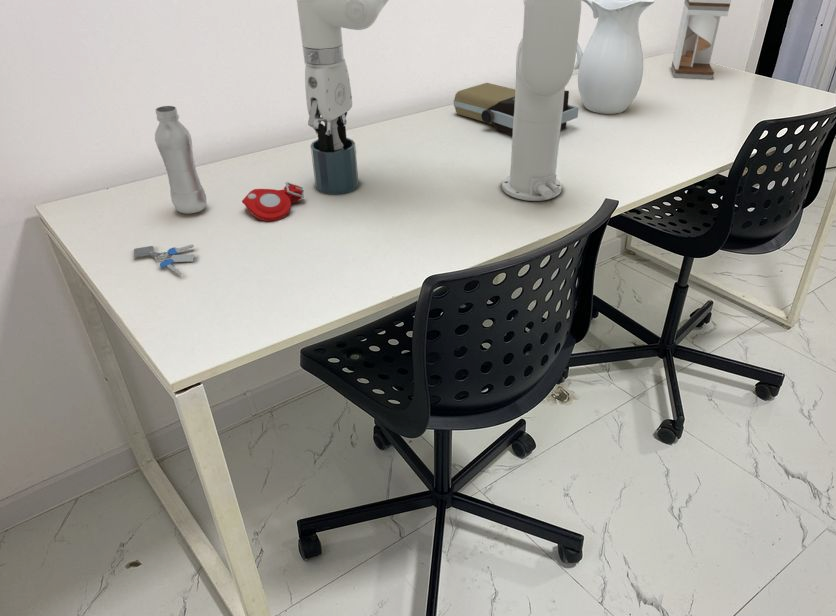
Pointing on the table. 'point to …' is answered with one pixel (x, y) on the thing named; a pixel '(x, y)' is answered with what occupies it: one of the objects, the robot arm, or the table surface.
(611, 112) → the pitcher
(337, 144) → the rook chess piece
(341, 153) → the tumbler
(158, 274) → the table surface
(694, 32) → the spiral staircase tower model
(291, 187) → the tracker holder
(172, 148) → the plastic bottle
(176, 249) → the key chain
